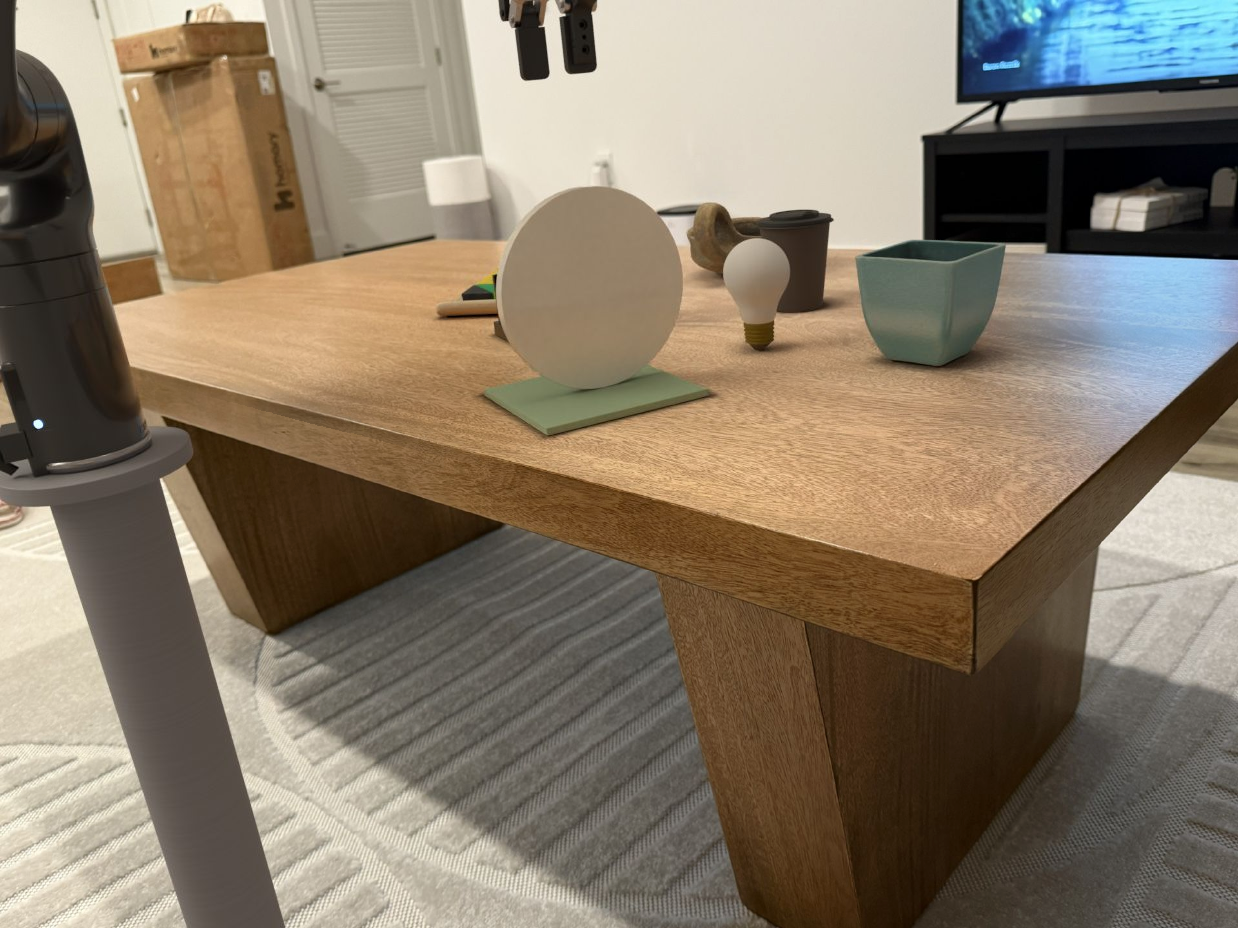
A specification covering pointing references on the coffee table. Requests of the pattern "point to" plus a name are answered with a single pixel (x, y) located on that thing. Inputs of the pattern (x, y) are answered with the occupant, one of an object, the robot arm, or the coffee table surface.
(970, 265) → the flower pot
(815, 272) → the coffee cup
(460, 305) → the wooden puzzle
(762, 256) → the light bulb
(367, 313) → the coffee table surface
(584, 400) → the mat
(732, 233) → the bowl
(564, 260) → the plate
